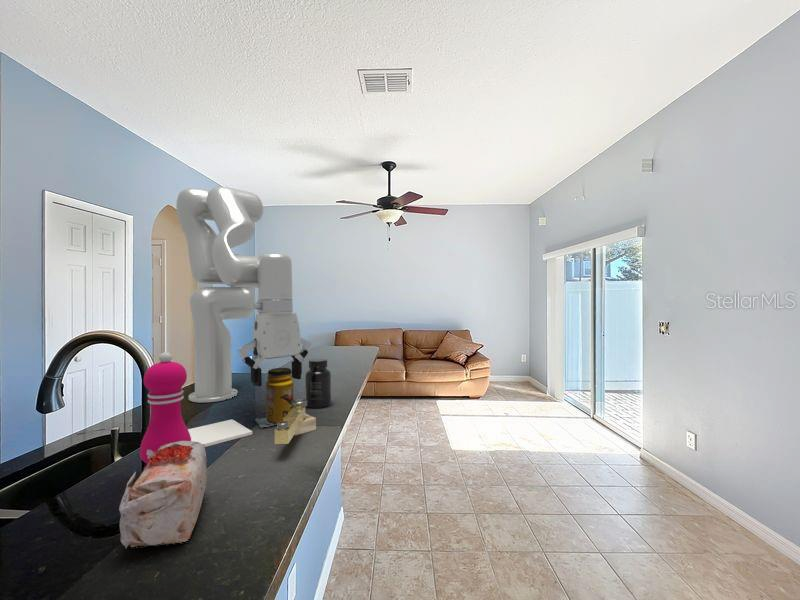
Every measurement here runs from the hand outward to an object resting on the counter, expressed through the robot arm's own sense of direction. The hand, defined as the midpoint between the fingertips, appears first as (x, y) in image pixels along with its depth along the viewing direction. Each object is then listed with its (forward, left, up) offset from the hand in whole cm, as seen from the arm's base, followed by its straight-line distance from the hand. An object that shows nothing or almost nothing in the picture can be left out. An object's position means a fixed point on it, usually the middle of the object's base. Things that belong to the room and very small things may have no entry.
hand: (277, 381), depth 87 cm
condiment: (-1, 0, -10) cm, 9 cm away
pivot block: (+8, +1, -9) cm, 12 cm away
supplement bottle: (-5, +14, -9) cm, 17 cm away
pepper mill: (+11, -25, -9) cm, 29 cm away
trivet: (-2, -13, -9) cm, 16 cm away
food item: (+26, -28, -10) cm, 40 cm away
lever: (+13, -4, -6) cm, 15 cm away
